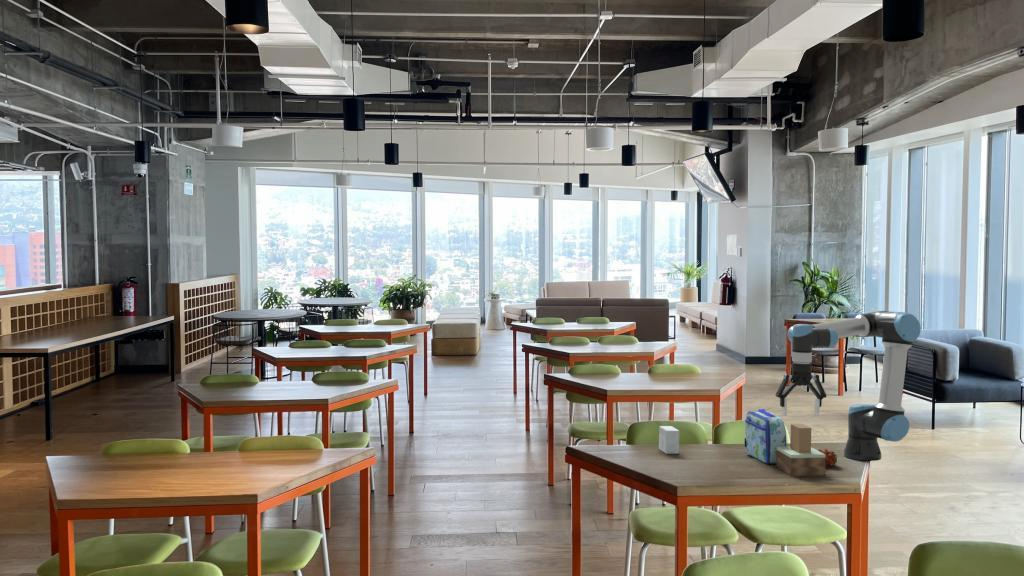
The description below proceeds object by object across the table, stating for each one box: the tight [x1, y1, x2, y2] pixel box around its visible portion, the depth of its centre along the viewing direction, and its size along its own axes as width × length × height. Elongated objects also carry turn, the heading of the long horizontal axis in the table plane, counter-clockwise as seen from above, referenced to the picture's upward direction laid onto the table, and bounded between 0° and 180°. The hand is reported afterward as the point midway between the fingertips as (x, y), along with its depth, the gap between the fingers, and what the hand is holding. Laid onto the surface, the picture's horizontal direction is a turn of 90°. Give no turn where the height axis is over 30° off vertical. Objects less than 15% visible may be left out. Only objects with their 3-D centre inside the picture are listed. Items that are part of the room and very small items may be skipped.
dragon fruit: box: [817, 448, 838, 469], centre depth 329 cm, size 8×8×12 cm
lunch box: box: [744, 408, 788, 465], centre depth 342 cm, size 26×11×21 cm, turn 3°
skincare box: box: [658, 425, 680, 455], centre depth 357 cm, size 10×6×10 cm, turn 7°
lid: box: [777, 423, 825, 458], centre depth 321 cm, size 14×14×11 cm
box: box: [775, 450, 826, 477], centre depth 321 cm, size 14×14×8 cm
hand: (800, 415), depth 320 cm, fingers open, 13 cm apart
